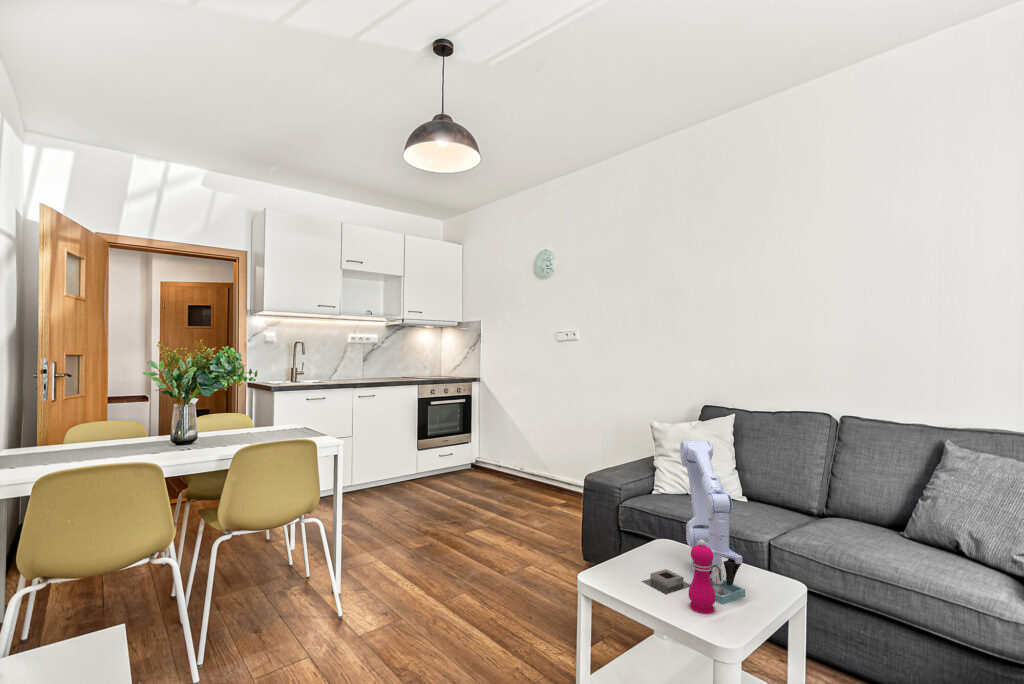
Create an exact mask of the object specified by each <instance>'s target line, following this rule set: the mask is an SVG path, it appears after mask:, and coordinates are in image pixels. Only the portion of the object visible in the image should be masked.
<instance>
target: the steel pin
mask: <svg viewBox="0 0 1024 684" xmlns="http://www.w3.org/2000/svg"><path fill="white" fill-rule="evenodd" d="M723 575H724V574H723V567H722V568H721V567H720V566H719V565H714V566H713V567H712V586H713V589H714V591H715V593H717V594H719V595H721V596H723V595H725V594H724V588H723V580H724V577H723Z"/></svg>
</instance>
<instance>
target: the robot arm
mask: <svg viewBox="0 0 1024 684" xmlns="http://www.w3.org/2000/svg"><path fill="white" fill-rule="evenodd" d="M679 453H680V454H679V455H680V462H681V465H682V466H683V467H685V468H686V470H687V475H688V481H689V490H690V491H689V493H690V496H691V498H690V499H691V506H692V513H693V516H692V518H691V519H690V520H688V521H687V523H686V525H685V527H686V528H685V529H686V533H685V535H686V536H685V537H686V542H687V545H688V546H689V547H690V548H691V549H692V548H693V547H694V546H695V545H699V540H704V541H705V546H707V547H709V548H710V549H711V550H712V552H713V561H712V562H711V570H710V578H711V577H712V567H713V566H714V565H719V566H720V567H721V568H722V569H723V565H724V570H725V574H723V578H724V577H725V581H726V583H727V585H732V584H734V581H735V577H736V575H737V572H738V570H739V568H740V566H742V563H743V556H742V555H740V554H738V553H737V552H735V551H733V550H732V549H730V514H732V511H733V500H732V498H731V494H730V493H728V491H727V490H725V489H724V486H723V483H722V481H721V479H720V476H719V475H718V474H716V473H714V468H713V465H712V458H713V455H714V448H713V444H712V442H711V441H710V440H685V439H683V440H682V441H681V442H680V444H679ZM723 558H725V559H727V560H724V561H723ZM693 561H694V560H693V559H692V558H691V573H692V574H693V575H694V568H693ZM722 564H723V565H722Z"/></svg>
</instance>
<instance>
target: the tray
mask: <svg viewBox="0 0 1024 684" xmlns="http://www.w3.org/2000/svg"><path fill="white" fill-rule="evenodd" d="M710 580H711V584H712V577H710ZM723 589H725V590H728V591H730V592H729V593H725V594H724V595H722V596H721V595H719V594H717V593H715V596H716V601H715V603H718V604H720V605H725V604H728V603H730V602H734V601H736V600H739V599H742V598H745V597H746V589H745V588H743V587H740V586H739V585H737V584H734V583H733V584H732V585H727V583H726V579H723Z"/></svg>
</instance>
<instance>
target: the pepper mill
mask: <svg viewBox="0 0 1024 684" xmlns="http://www.w3.org/2000/svg"><path fill="white" fill-rule="evenodd" d="M690 557H691V560H692V559H693V560H694V561H693V568H694V574H693V578H692V582H691V583H690V587H688V588H689V589H688V593H687V594H688V599H689V600H690V603H689V606H690V607H689V608H690V609H691V610H693V611H694V612H695V613H698V614H702V615H703V614H704V615H708V614H709V615H710V614H713V613H714V612H715V607H714V606H713V605H715V603H716V596H715V591H714V589H713V585H712V584H711V580H710V578H711V577H710V570H711V562H712V561H713V552H712V550H711V549H710V548H709V547H707V546H705V541H704V540H699V545H695V546H694V547H693V548H692V547H691V550H690Z"/></svg>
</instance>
